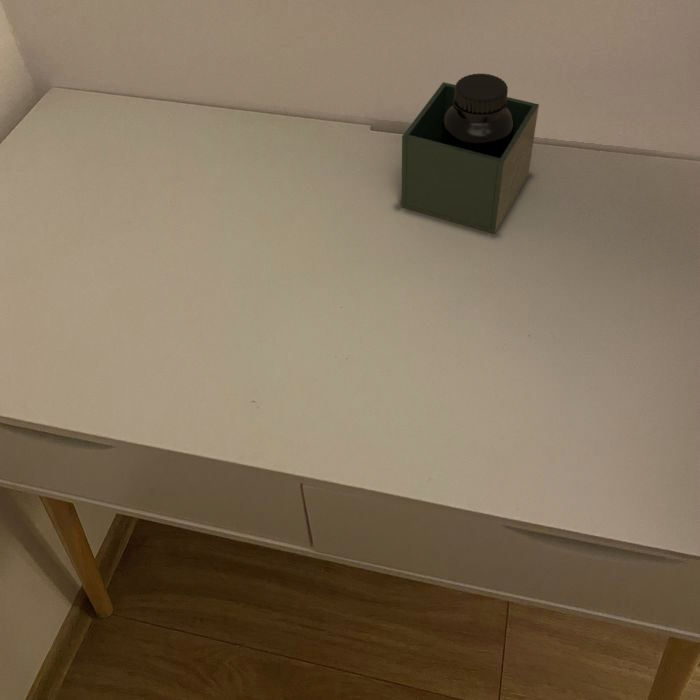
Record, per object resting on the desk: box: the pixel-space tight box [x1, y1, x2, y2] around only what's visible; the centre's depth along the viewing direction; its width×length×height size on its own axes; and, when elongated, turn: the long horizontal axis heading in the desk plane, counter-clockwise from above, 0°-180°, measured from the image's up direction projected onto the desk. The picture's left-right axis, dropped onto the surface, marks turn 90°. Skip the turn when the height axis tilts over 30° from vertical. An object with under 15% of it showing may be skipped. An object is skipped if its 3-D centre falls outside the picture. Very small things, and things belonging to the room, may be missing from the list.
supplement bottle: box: [441, 73, 514, 158], centre depth 79 cm, size 7×7×12 cm
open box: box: [400, 81, 540, 235], centre depth 81 cm, size 10×10×8 cm
